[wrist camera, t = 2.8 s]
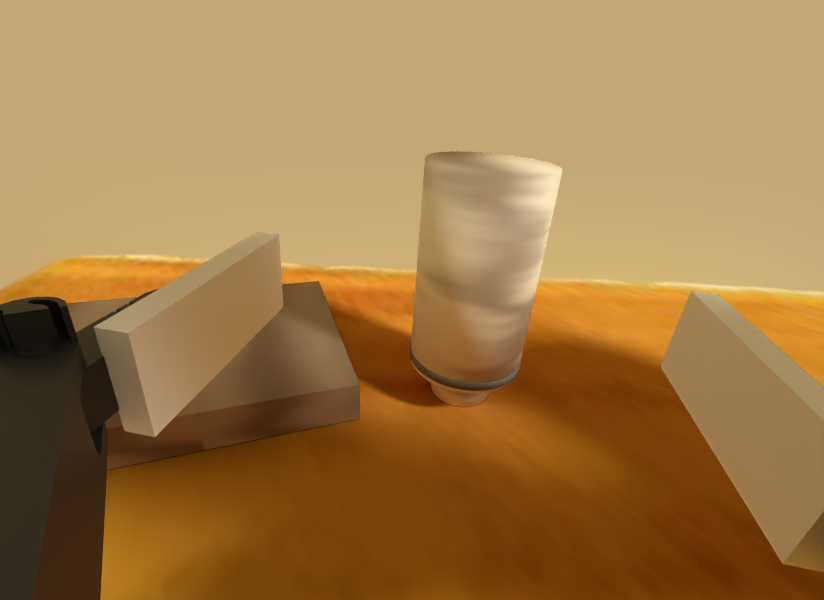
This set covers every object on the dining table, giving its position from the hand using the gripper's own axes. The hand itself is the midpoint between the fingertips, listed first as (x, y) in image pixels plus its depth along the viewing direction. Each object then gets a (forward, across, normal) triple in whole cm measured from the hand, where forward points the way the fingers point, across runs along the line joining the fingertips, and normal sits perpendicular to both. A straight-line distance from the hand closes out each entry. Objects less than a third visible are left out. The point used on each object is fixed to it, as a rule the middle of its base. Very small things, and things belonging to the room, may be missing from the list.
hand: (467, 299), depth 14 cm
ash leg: (+10, 0, -11) cm, 15 cm away
